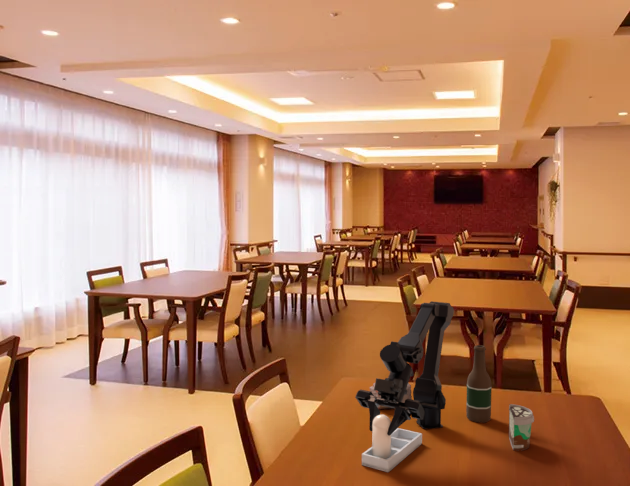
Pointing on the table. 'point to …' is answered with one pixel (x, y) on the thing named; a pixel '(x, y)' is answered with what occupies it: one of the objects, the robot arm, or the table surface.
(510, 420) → the food container
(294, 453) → the table surface
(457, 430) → the table surface
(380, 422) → the cream tall rounded piece
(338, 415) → the table surface
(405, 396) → the food item
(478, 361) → the beer bottle
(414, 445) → the white compartment tray
